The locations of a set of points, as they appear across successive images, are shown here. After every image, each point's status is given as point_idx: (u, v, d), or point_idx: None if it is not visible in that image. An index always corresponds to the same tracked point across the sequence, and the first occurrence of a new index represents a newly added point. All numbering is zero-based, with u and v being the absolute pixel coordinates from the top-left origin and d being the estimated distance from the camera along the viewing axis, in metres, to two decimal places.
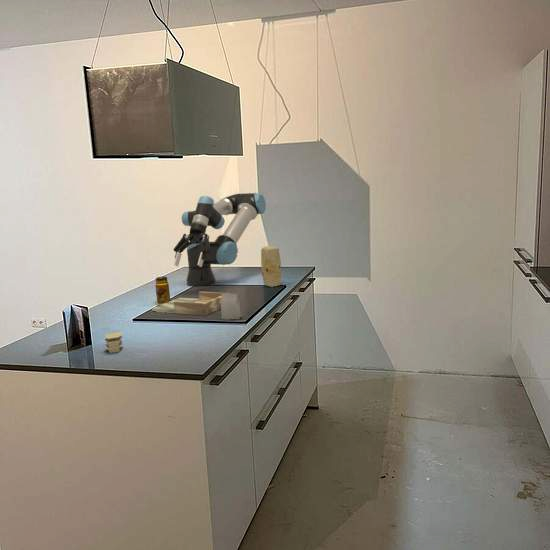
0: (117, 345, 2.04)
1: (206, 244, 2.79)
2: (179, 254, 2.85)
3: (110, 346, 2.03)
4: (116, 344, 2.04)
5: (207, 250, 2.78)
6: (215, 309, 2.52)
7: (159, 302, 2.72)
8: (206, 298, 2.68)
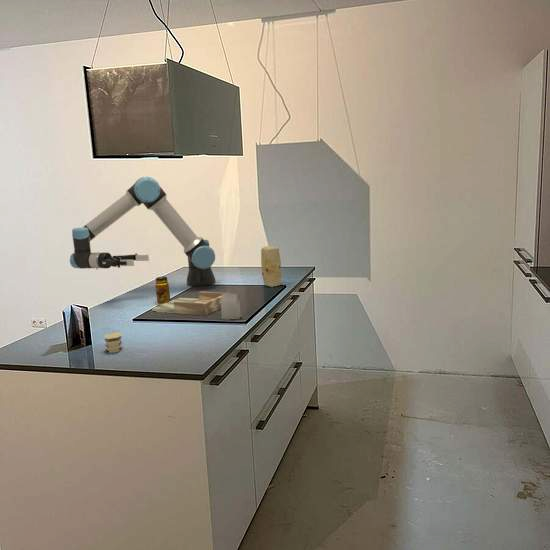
0: (117, 345, 2.04)
1: (111, 265, 2.70)
2: (137, 258, 2.82)
3: (110, 346, 2.03)
4: (116, 344, 2.04)
5: (115, 266, 2.68)
6: (215, 309, 2.52)
7: (159, 302, 2.72)
8: (206, 298, 2.68)
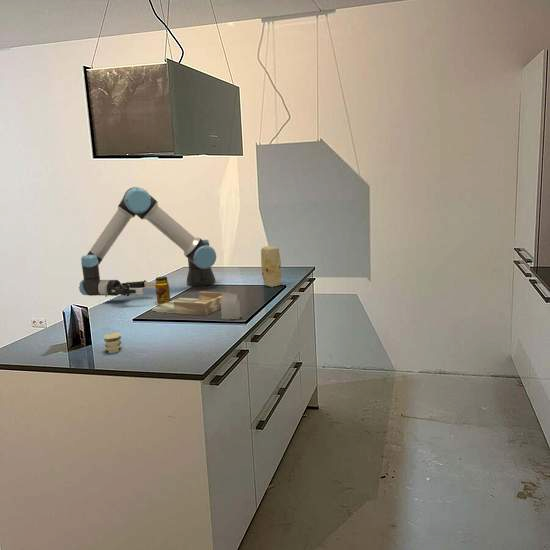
0: (116, 345, 2.04)
1: None
2: (146, 285, 2.84)
3: (109, 346, 2.03)
4: (115, 344, 2.04)
5: None
6: (215, 309, 2.52)
7: (159, 302, 2.72)
8: (206, 298, 2.68)
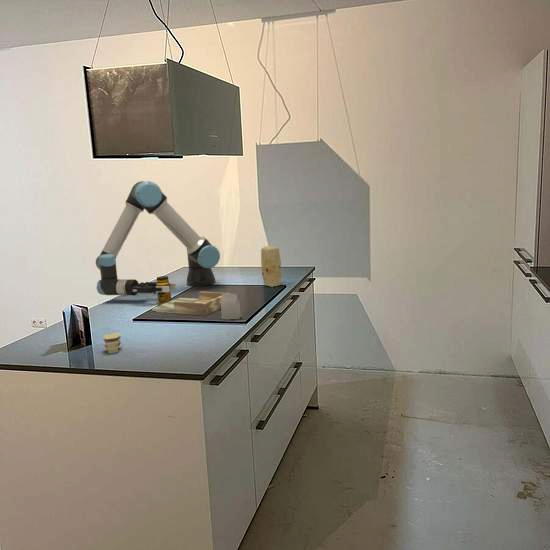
0: (116, 346, 2.04)
1: (145, 292, 2.71)
2: None
3: (109, 347, 2.03)
4: (115, 345, 2.04)
5: None
6: (215, 309, 2.52)
7: (160, 301, 2.73)
8: (206, 298, 2.68)
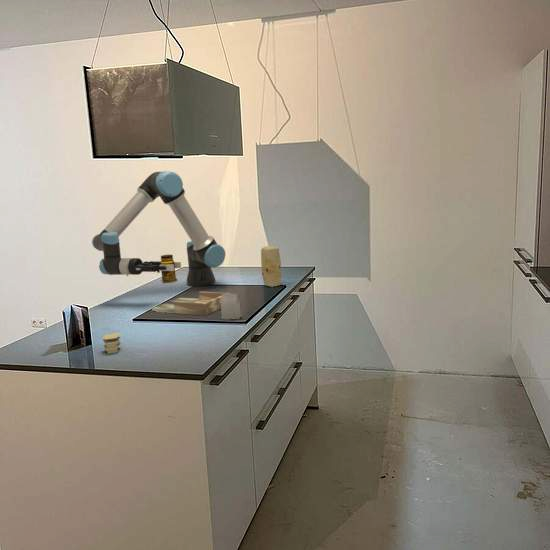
0: (115, 346, 2.03)
1: None
2: None
3: (108, 347, 2.03)
4: (114, 345, 2.03)
5: (155, 271, 2.60)
6: (215, 309, 2.52)
7: (164, 281, 2.63)
8: (206, 298, 2.68)
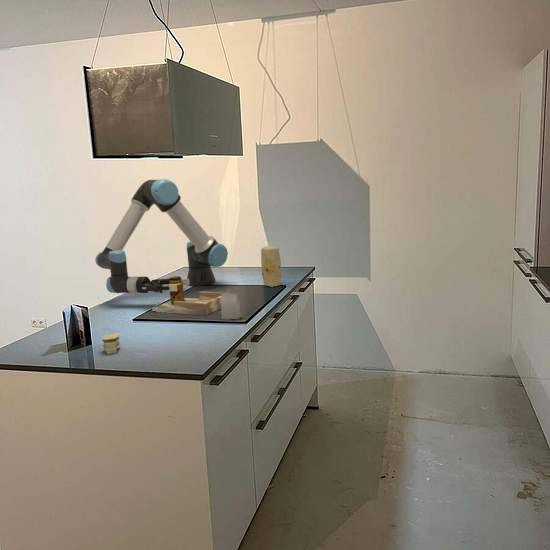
0: (114, 346, 2.03)
1: None
2: None
3: (107, 347, 2.02)
4: (113, 345, 2.03)
5: None
6: (215, 309, 2.52)
7: (173, 303, 2.62)
8: (206, 298, 2.68)
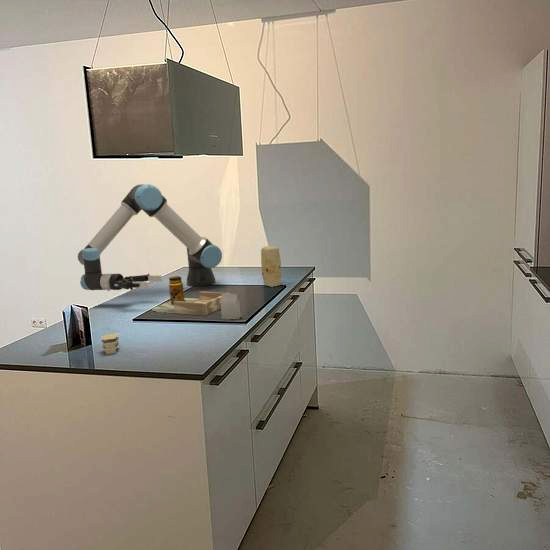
0: (113, 346, 2.03)
1: None
2: (149, 279, 2.74)
3: (106, 347, 2.02)
4: (112, 345, 2.03)
5: None
6: (215, 309, 2.52)
7: (173, 303, 2.62)
8: (206, 298, 2.68)
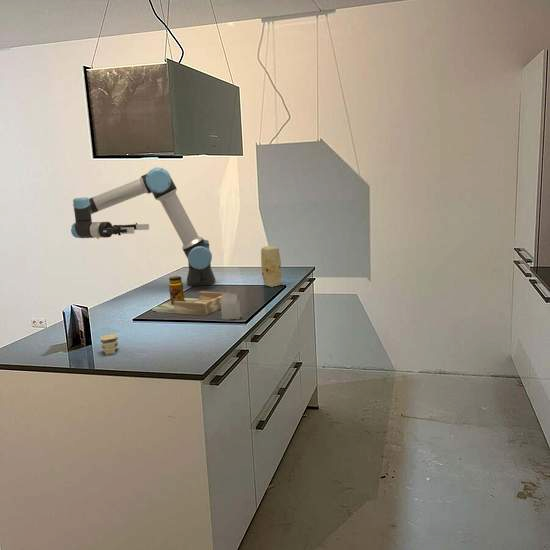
0: (113, 346, 2.03)
1: (112, 233, 2.73)
2: (137, 227, 2.86)
3: (106, 347, 2.02)
4: (112, 345, 2.03)
5: (116, 234, 2.71)
6: (215, 309, 2.52)
7: (173, 303, 2.62)
8: (206, 298, 2.68)
